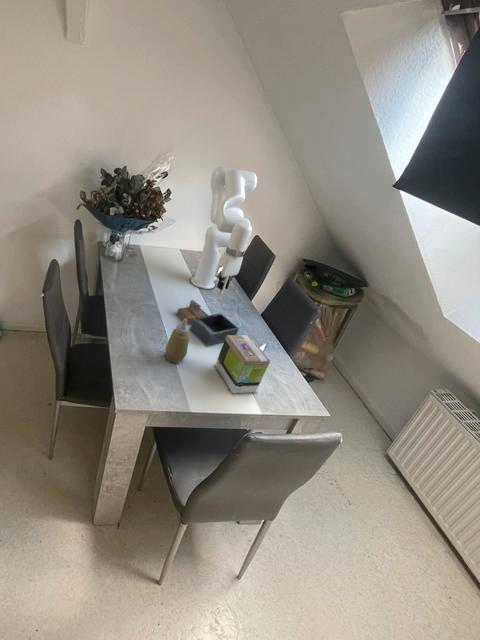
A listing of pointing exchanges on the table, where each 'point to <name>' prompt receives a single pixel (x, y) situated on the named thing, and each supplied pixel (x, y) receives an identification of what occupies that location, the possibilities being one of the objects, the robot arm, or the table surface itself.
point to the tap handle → (194, 307)
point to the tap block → (189, 314)
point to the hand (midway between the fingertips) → (222, 287)
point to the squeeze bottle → (178, 343)
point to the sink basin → (213, 328)
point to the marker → (224, 286)
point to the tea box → (241, 363)
